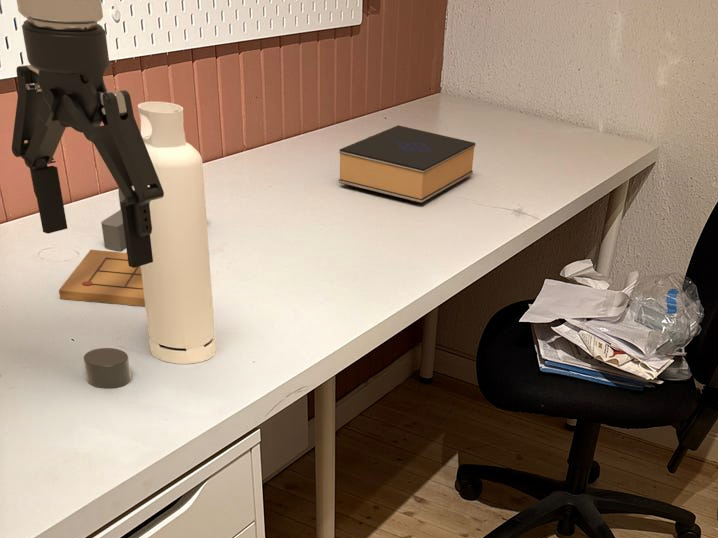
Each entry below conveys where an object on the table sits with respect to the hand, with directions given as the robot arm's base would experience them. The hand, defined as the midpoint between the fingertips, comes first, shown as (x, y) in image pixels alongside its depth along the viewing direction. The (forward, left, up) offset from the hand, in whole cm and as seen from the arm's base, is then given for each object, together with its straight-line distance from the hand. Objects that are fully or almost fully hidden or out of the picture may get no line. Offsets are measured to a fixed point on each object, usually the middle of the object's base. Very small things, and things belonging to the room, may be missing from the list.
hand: (97, 247), depth 105 cm
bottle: (+6, +9, -16) cm, 19 cm away
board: (-5, +29, -15) cm, 33 cm away
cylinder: (-1, -1, -15) cm, 15 cm away
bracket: (-6, +49, -16) cm, 52 cm away
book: (+33, +92, -16) cm, 99 cm away
